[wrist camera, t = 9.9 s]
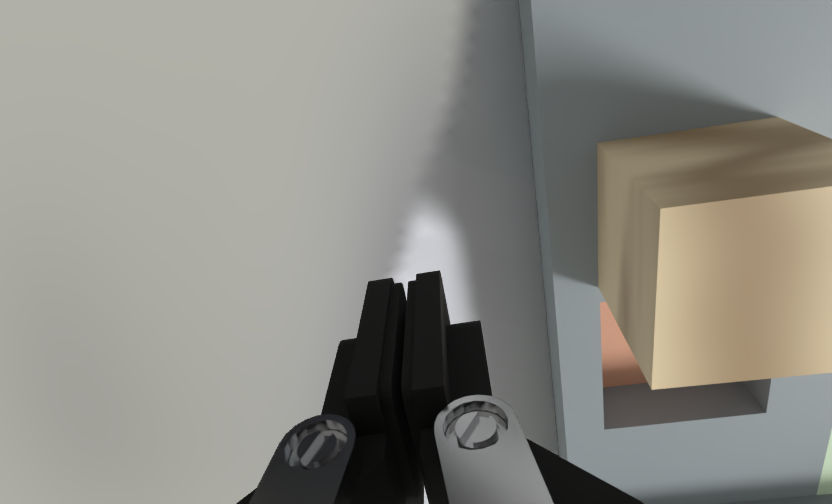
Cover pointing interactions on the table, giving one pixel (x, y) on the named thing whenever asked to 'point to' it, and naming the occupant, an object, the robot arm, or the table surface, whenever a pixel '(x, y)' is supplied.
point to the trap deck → (578, 236)
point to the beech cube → (719, 251)
